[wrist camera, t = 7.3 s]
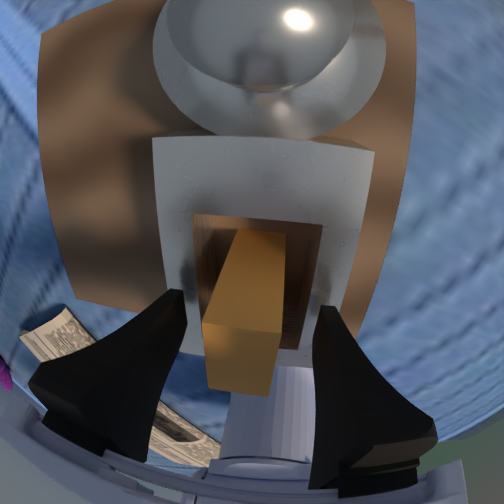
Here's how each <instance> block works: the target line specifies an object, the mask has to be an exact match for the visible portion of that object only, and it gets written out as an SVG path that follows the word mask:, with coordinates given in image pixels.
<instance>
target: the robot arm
mask: <svg viewBox="0 0 504 504" xmlns="http://www.w3.org/2000/svg"><path fill="white" fill-rule="evenodd" d="M187 325H188V321H187V314H186V308H185V300H184V293H183V290H179V289H172V288H170V289H169V290H168V291H166V292H165V293H164V294H163V295H161V296H160V297H159V298H158V299H157V300H155V301H154V302H153V303H152V304H151V305H149V306H148V307H147V308H146V309H144V310H143V311H142V312H141V313H139V314H138V315H137V316H136V317H134V318H133V319H131V320H130V321H129V322H127V323H126V324H125V325H123V326H122V327H120V328H119V329H117V330H116V331H114V332H113V333H111V334H109V335H108V336H106V337H104V338H103V339H101V340H99V341H97V342H95V343H93V344H91V345H89V346H87V347H85V348H82V349H80V350H78V351H75V352H73V353H70V354H67V355H65V356H62V357H58V358H55V359H52V360H48V361H44V362H42V363H41V364H40V365H39V367H38V368H37V370H36V371H35V373H34V374H33V376H32V377H31V379H30V380H29V382H28V385H29V388H30V390H31V391H32V393H33V394H34V395H35V396H36V397H37V398H38V400H39V401H40V402H41V403H42V404H43V405H44V406H45V407H46V408H47V409H48V411H47V412H46V414H45V416H43V415H41V414H40V413H39V412H38V411H37V410H36V409H35V408H34V407H33V406H32V405H31V404H30V403H28V402H27V401H26V400H24V399H23V398H21V397H20V396H18V395H17V394H16V393H14V394H13V396H12V398H11V399H10V401H9V403H8V405H7V406H6V408H5V409H4V411H3V413H2V414H1V416H0V437H1V438H2V439H3V440H4V441H5V442H6V443H7V444H9V445H10V446H11V447H12V448H13V449H14V450H16V451H17V452H18V453H19V454H20V455H21V456H22V457H24V458H25V459H26V460H27V461H28V462H30V463H31V464H32V465H33V466H35V467H36V468H37V469H38V470H40V471H41V472H43V473H44V474H45V475H47V476H48V477H49V478H51V479H52V480H54V481H55V482H57V483H58V484H59V485H61V486H62V487H64V488H65V489H67V490H68V491H70V492H72V493H73V494H75V495H77V496H78V497H80V498H82V499H83V500H85V501H87V502H89V503H90V504H468V501H467V493H466V485H465V478H464V472H463V467H462V461H461V460H460V459H459V460H456V461H453V462H450V463H447V464H444V465H441V466H438V467H436V468H434V469H432V470H430V471H429V472H427V473H426V474H422V475H419V476H417V470H416V467H418V466H419V465H420V462H419V457H420V456H422V455H423V454H425V453H426V452H427V451H429V450H430V449H431V448H433V447H434V446H435V445H436V443H437V442H438V436H437V431H436V427H435V424H434V420H433V418H431V417H430V416H428V415H427V414H425V413H424V412H423V411H421V410H420V409H418V408H417V407H415V406H414V405H413V404H412V403H410V402H409V401H408V400H407V399H406V398H404V397H403V396H402V395H401V394H400V393H399V392H398V391H397V390H396V389H395V388H394V387H393V386H391V385H390V384H389V383H388V382H387V381H386V380H385V378H384V377H383V376H382V375H381V374H380V373H379V372H378V371H377V369H376V368H375V367H374V366H373V364H372V363H371V362H370V361H369V359H368V358H367V357H366V355H365V354H364V352H363V351H362V350H361V348H360V347H359V345H358V344H357V342H356V340H355V339H354V337H353V336H352V334H351V333H350V331H349V329H348V328H347V326H346V324H345V322H344V321H343V319H342V317H341V315H340V313H339V312H338V310H337V308H336V307H335V306H330V305H321V307H320V311H319V314H318V318H317V322H316V326H315V330H314V333H313V337H312V365H313V368H301V367H287V366H275V368H274V373H273V377H272V382H271V386H270V391H269V395H268V397H264V396H255V395H248V394H240V393H234V392H231V399H230V404H229V409H228V414H227V419H226V423H225V428H224V433H223V438H222V442H221V447H220V452H219V456H218V459H210V463H209V468H207V467H203V468H201V469H199V470H198V471H197V472H196V473H194V474H193V475H192V476H191V477H189V476H185V475H181V474H177V473H173V472H170V471H166V470H163V469H159V468H156V467H153V466H150V465H147V464H144V462H146V461H147V454H148V447H149V441H150V436H151V431H152V427H153V422H154V418H155V414H156V410H157V406H158V403H159V399H160V396H161V392H162V389H163V386H164V384H165V381H166V379H167V376H168V374H169V372H170V369H171V367H172V365H173V363H174V360H175V358H176V356H177V354H178V351H179V349H180V347H181V344H182V342H183V339H184V335H185V332H186V328H187ZM315 399H316V418H315ZM114 469H115V470H117V471H119V472H122V473H124V474H127V475H130V476H132V477H135V478H138V479H140V480H143V481H146V482H149V483H152V484H155V485H158V486H162V487H165V488H169V489H172V490H176V491H180V492H183V494H182V498H181V503H178V502H175V501H171V500H167V499H164V498H160V497H157V496H154V492H153V490H151V489H148V488H146V487H144V486H143V485H141V484H139V483H138V482H137V481H136V480H133V479H131V478H129V477H126V476H124V475H122V474H120V473H118V472H116V471H115V470H114Z"/></svg>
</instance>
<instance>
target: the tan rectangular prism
mask: <svg viewBox="0 0 504 504" xmlns="http://www.w3.org/2000/svg"><path fill="white" fill-rule="evenodd" d="M285 248H286V234H284V233H275V232H266V231H257V230H248V229H238V230H237V232H236V235H235V237H234V240H233V242H232V245H231V247H230V250H229V252H228V255H227V258H226V260H225V263H224V265H223V268H222V270H221V273H220V275H219V278H218V281H217V283H216V286H215V288H214V291H213V294H212V296H211V299H210V302H209V304H208V307H207V309H206V312H205V315H204V317H203V320H202V333H203V344H204V354H205V364H206V373H207V382H208V388H210V389H215V390H221V391H227V392H234V393H240V394H248V395H255V396H264V397H268V395H269V391H270V386H271V382H272V377H273V373H274V368H275V363H276V358H277V353H278V349H279V344H280V339H281V333H282V317H283V297H284V275H285Z"/></svg>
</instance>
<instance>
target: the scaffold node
mask: <svg viewBox="0 0 504 504" xmlns="http://www.w3.org/2000/svg"><path fill="white" fill-rule="evenodd" d="M385 57H386V42H385V35H384V30H383V26H382V23H381V21H380V18H379V16H378V13H377V11H376V9H375V8H374V6H373V4H372V3H371V1H370V0H167V2H166V3H165V5H164V7H163V9H162V11H161V13H160V15H159V17H158V20H157V23H156V27H155V30H154V37H153V59H154V65H155V69H156V72H157V75H158V78H159V81H160V83H161V85H162V87H163V89H164V91H165V92H166V93H167V95H168V96H169V98H170V99H171V101H172V102H173V103H174V104H175V105H176V106H177V107H178V109H179V110H180V111H181V112H183V113H184V114H185V115H186V116H187V117H188V118H190V119H191V120H192V121H194V122H195V123H197V124H198V125H200V126H202V127H203V128H205V129H183V130H179V131H175V132H171V133H167V134H164V135H160V136H156V137H153V138H152V146H153V166H154V181H155V193H156V205H157V215H158V224H159V233H160V241H161V248H162V256H163V263H164V270H165V276H166V282H167V288H168V290H169V289H170V288H172V289H179V290H183V293H184V300H185V308H186V314H187V321H188V325H187V328H186V332H185V335H184V339H183V342H182V344H181V347H180V349H179V350H180V352H183V353H188V354H194V355H200V356H205V354H204V344H203V333H202V320H203V317H204V315H205V312H206V309H207V307H208V304H209V302H210V299H211V296H212V294H213V291H214V288H215V286H216V262H215V226H214V215H219V216H233V217H245V218H257V219H269V220H280V221H290V222H301V223H310V224H311V230H310V237H309V243H308V250H307V256H306V262H305V268H304V274H303V280H302V286H301V292H300V297H299V303H298V307H292V306H283V317H282V333H281V339H280V344H279V349H278V353H277V358H276V363H275V366H287V367H301V368H313V365H312V337H313V333H314V330H315V326H316V322H317V318H318V314H319V311H320V307H321V305H330V306H335V307H336V308H337V310H338V312H339V311H340V308H341V304H342V301H343V297H344V294H345V291H346V287H347V283H348V280H349V276H350V272H351V269H352V265H353V261H354V257H355V253H356V249H357V244H358V240H359V236H360V231H361V227H362V222H363V217H364V212H365V207H366V202H367V197H368V192H369V186H370V180H371V174H372V168H373V161H374V154H375V152H374V151H372V150H371V149H369V148H367V147H365V146H363V145H361V144H359V143H357V142H355V141H353V140H348V139H341V138H335V137H328V136H320V135H323V134H325V133H327V132H329V131H331V130H333V129H335V128H337V127H339V126H340V125H342V124H343V123H345V122H346V121H348V120H349V119H350V118H352V117H353V116H354V115H355V114H356V113H357V112H359V111H360V110H361V108H362V107H363V106H364V105H365V104H366V103H367V102H368V100H369V99H370V98H371V96H372V94H373V93H374V91H375V90H376V88H377V86H378V83H379V81H380V79H381V77H382V73H383V69H384V65H385Z"/></svg>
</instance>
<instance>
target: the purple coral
mask: <svg viewBox="0 0 504 504" xmlns="http://www.w3.org/2000/svg"><path fill="white" fill-rule="evenodd" d="M0 382H2V388H3V389H5V390H11V389H12V385H13V383H12V377H11V374H10V372H9V370H8V368H7V366H6V364H5V362H4V360H2V359H1V358H0Z"/></svg>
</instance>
